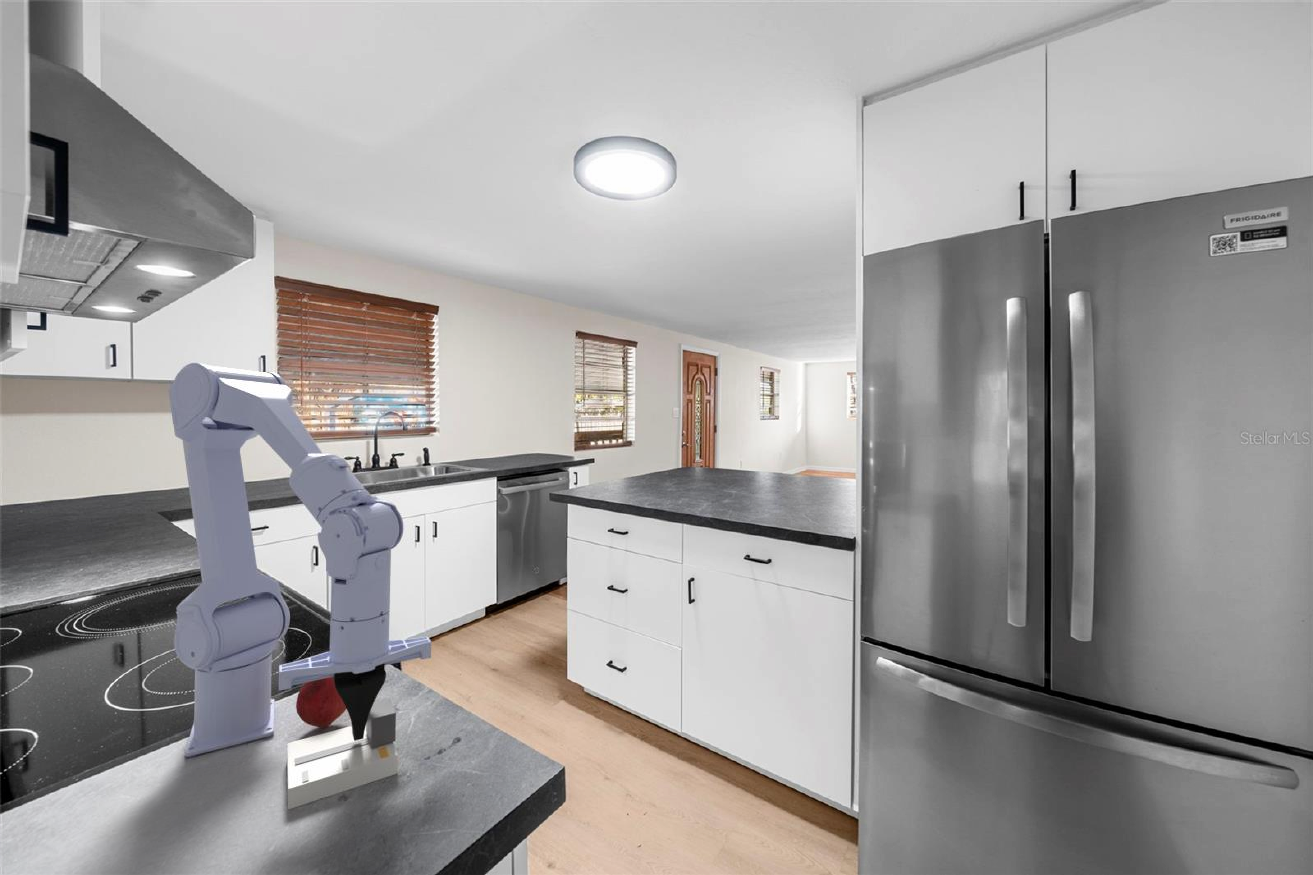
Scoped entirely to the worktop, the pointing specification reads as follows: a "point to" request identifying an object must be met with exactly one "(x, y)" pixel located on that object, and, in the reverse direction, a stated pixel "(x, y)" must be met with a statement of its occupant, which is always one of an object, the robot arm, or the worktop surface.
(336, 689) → the robot arm
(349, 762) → the console
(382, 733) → the fader knob
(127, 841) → the worktop surface
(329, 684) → the onion
